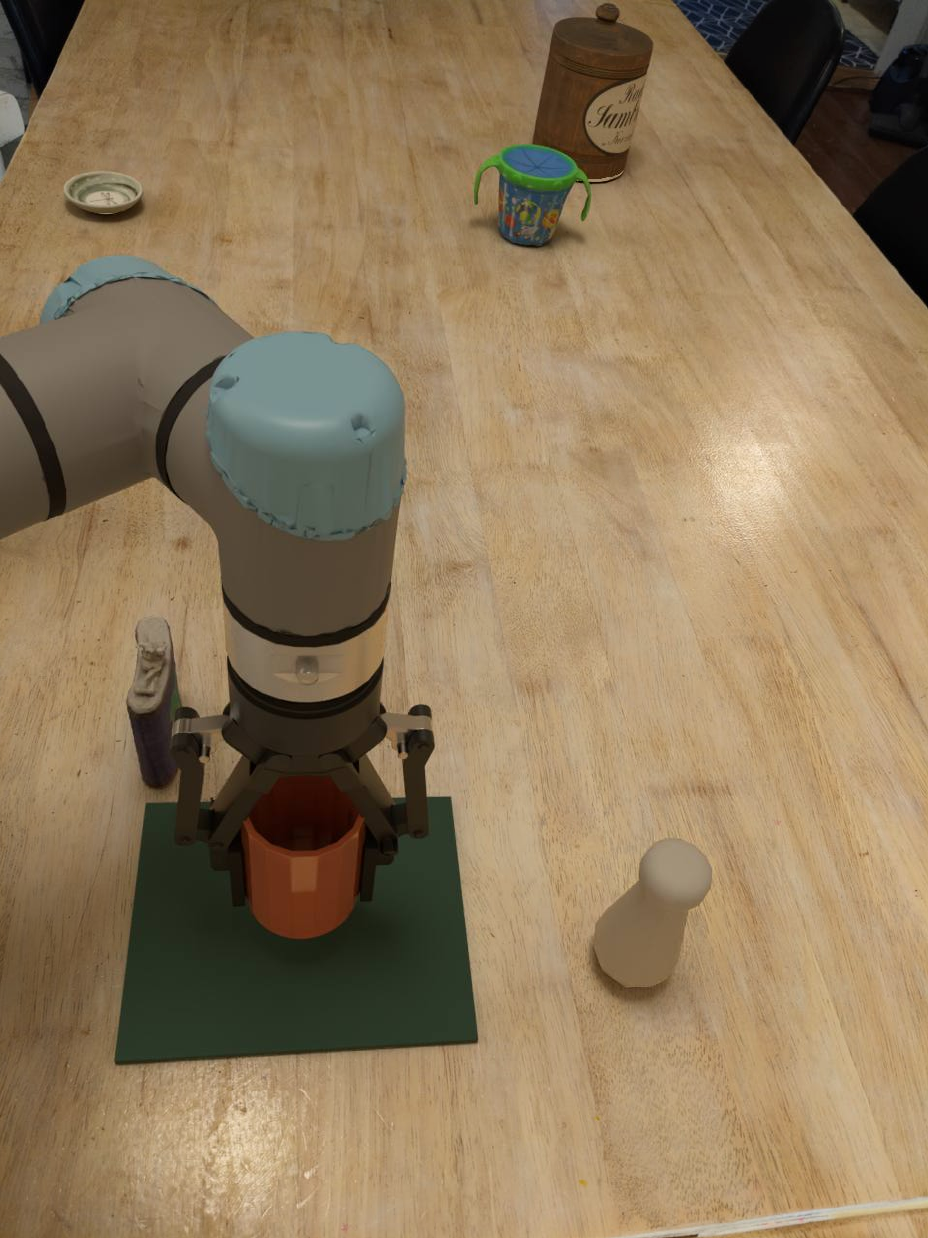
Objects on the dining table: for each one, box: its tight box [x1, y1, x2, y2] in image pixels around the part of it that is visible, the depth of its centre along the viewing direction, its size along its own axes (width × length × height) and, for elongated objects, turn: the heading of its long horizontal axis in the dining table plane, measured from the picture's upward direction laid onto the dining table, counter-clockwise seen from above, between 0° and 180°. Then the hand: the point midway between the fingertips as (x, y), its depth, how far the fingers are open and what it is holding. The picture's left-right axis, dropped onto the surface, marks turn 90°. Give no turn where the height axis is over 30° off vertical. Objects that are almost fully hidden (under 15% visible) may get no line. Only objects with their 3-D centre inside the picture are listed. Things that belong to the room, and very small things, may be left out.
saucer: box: [62, 170, 144, 214], centre depth 130 cm, size 10×10×2 cm
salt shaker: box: [592, 837, 713, 989], centre depth 65 cm, size 6×6×13 cm
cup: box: [241, 775, 366, 939], centre depth 62 cm, size 7×7×10 cm
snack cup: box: [473, 143, 592, 247], centre depth 136 cm, size 16×10×10 cm
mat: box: [113, 795, 479, 1065], centre depth 69 cm, size 22×18×1 cm
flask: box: [125, 615, 182, 790], centre depth 73 cm, size 9×3×11 cm, turn 7°
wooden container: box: [531, 2, 654, 179], centre depth 151 cm, size 15×15×22 cm
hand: (303, 884), depth 66 cm, fingers closed on cup, 7 cm apart
